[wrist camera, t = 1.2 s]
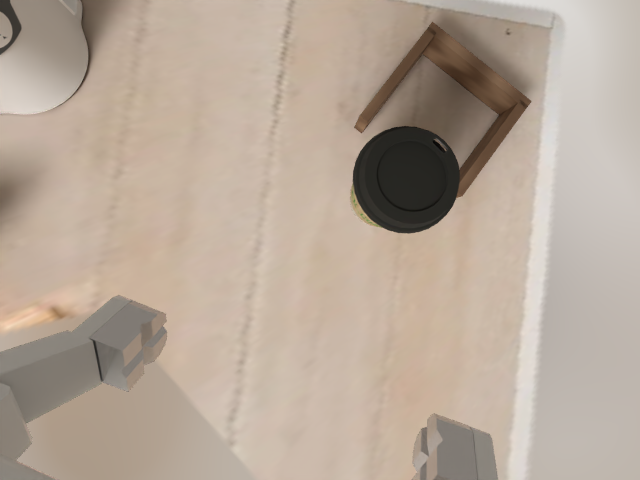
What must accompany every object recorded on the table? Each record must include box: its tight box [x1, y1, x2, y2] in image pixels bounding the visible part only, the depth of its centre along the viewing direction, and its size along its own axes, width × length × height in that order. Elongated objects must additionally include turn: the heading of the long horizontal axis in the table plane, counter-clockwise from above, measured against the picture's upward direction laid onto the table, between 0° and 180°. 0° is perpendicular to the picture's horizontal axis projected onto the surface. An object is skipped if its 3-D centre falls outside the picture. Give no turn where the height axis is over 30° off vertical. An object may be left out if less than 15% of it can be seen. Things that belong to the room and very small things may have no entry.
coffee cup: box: [350, 126, 460, 233], centre depth 39 cm, size 10×10×15 cm
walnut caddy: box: [354, 22, 531, 198], centre depth 45 cm, size 15×15×4 cm
